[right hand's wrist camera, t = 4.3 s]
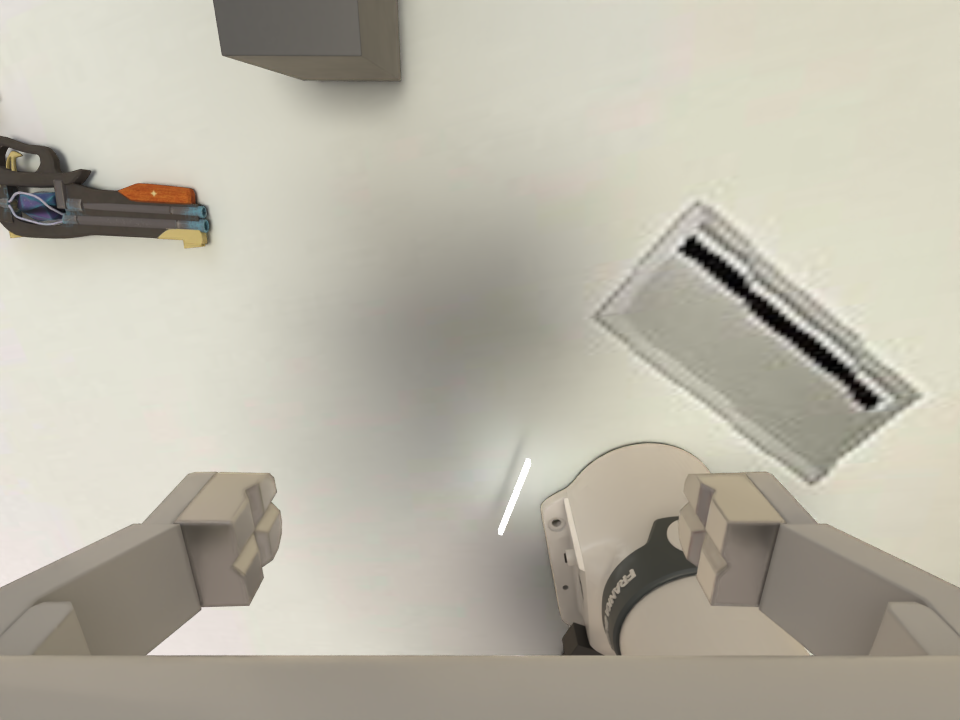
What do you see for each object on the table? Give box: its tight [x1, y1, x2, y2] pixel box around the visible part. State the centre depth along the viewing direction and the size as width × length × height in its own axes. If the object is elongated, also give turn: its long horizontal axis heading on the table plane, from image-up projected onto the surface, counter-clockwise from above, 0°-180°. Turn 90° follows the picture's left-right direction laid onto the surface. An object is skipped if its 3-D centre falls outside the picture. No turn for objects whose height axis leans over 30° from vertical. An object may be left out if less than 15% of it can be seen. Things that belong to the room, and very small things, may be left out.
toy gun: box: [0, 136, 209, 248], centre depth 37 cm, size 3×19×10 cm
